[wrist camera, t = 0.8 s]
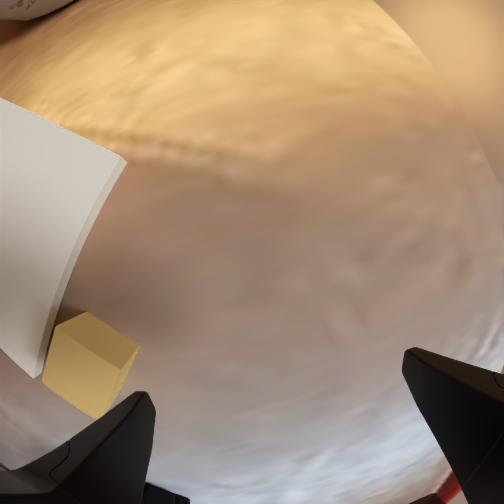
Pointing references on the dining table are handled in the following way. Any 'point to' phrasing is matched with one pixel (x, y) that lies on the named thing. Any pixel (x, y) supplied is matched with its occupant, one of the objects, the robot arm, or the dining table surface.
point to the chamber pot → (28, 8)
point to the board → (43, 223)
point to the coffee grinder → (429, 500)
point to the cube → (88, 363)
